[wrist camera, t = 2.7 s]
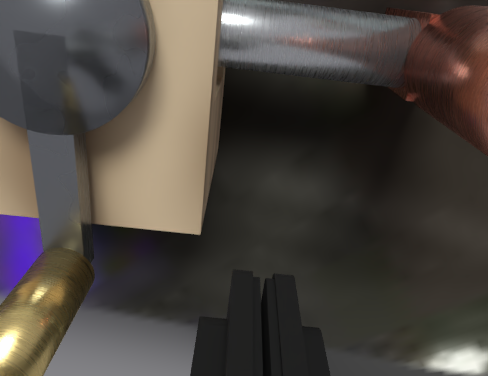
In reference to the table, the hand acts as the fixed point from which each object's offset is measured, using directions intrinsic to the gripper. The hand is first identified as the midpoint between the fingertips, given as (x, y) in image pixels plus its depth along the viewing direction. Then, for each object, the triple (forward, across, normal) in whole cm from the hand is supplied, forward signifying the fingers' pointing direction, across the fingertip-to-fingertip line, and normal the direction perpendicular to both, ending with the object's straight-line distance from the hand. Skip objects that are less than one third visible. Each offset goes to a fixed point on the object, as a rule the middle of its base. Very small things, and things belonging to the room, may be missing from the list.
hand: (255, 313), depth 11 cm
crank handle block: (+3, +6, -4) cm, 7 cm away
